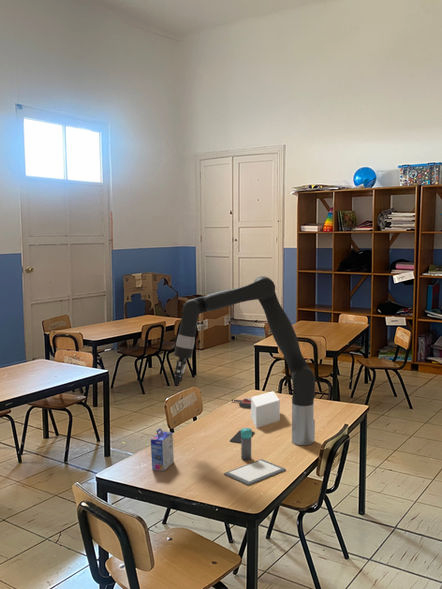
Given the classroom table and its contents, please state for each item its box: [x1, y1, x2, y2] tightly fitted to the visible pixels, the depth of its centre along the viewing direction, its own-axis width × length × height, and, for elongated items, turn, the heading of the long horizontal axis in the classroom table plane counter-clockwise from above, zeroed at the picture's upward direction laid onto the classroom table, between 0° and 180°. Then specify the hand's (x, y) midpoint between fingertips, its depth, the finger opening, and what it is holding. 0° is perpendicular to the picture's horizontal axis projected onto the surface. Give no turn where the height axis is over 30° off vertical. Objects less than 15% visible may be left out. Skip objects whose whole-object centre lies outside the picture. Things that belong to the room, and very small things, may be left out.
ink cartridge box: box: [150, 428, 175, 472], centre depth 225 cm, size 10×6×14 cm, turn 161°
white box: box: [250, 390, 281, 429], centre depth 282 cm, size 14×29×10 cm, turn 159°
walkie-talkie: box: [230, 397, 251, 409], centre depth 304 cm, size 9×4×20 cm
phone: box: [229, 429, 256, 444], centre depth 257 cm, size 7×1×15 cm
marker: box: [240, 427, 253, 461], centre depth 232 cm, size 4×4×12 cm
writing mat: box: [223, 458, 287, 486], centre depth 219 cm, size 20×13×1 cm, turn 132°
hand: (177, 383), depth 245 cm, fingers open, 8 cm apart
